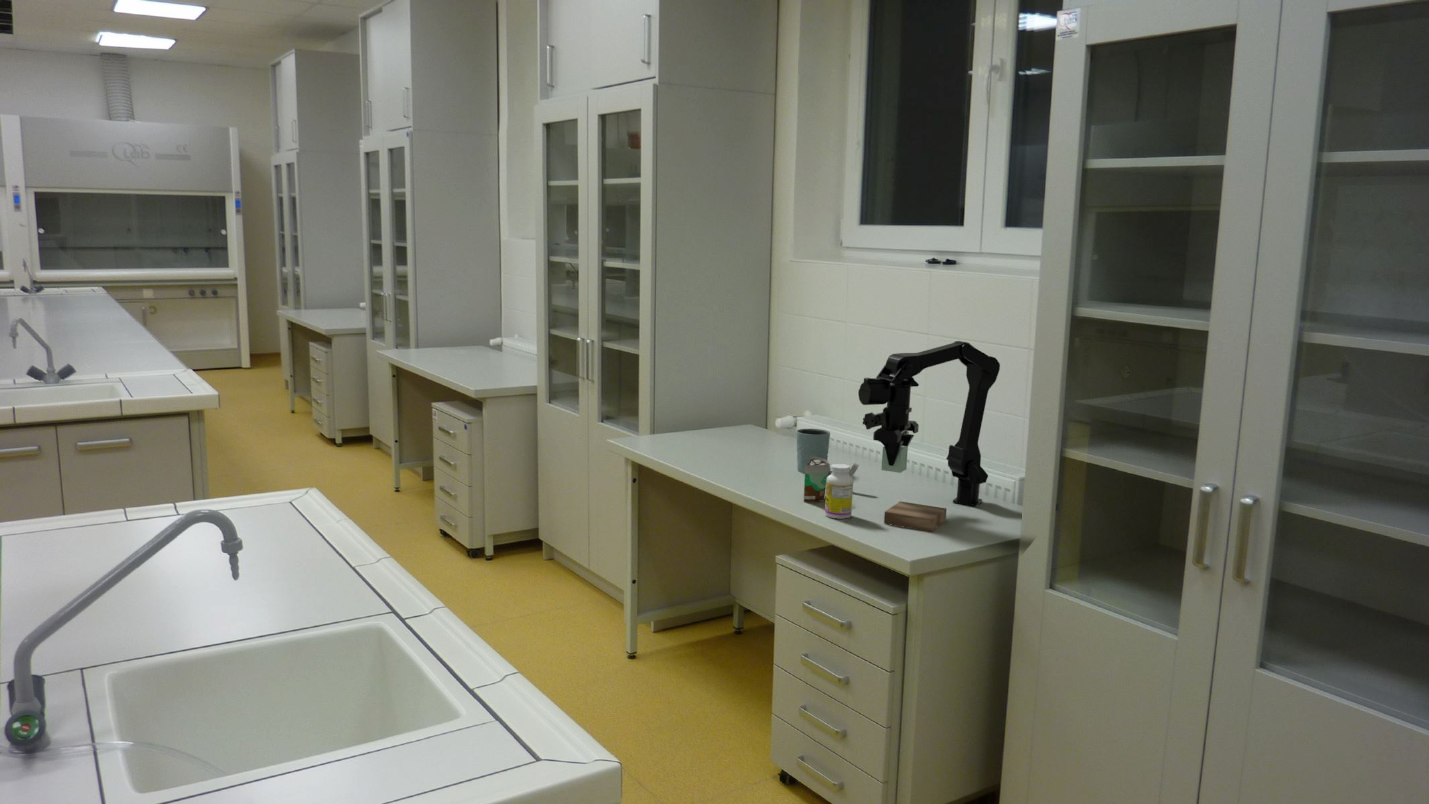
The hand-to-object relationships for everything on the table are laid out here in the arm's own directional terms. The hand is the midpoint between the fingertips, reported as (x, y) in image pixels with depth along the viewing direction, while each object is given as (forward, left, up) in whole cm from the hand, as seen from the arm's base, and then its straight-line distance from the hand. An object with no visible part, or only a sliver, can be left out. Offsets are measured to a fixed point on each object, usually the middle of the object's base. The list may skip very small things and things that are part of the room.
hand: (894, 463), depth 260 cm
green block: (0, 0, -2) cm, 2 cm away
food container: (+2, -20, -12) cm, 23 cm away
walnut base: (+9, +9, -12) cm, 17 cm away
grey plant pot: (-27, -34, -12) cm, 45 cm away
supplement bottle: (+15, -9, -12) cm, 21 cm away
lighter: (-10, -17, -12) cm, 23 cm away
